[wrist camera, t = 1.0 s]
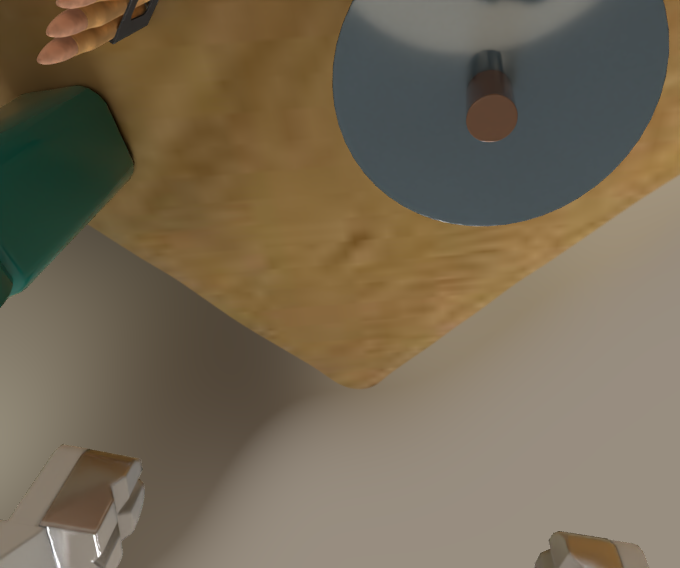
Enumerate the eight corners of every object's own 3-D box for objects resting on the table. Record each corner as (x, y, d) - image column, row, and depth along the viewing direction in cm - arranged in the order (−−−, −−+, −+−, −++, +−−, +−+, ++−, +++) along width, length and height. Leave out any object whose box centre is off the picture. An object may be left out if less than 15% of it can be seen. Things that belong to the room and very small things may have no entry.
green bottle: (62, 186, 49) (-144, 369, 33) (10, 94, 44) (-266, 254, 27) (157, 176, 47) (-12, 368, 30) (114, 77, 42) (-119, 242, 25)
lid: (700, -139, 23) (745, -133, 19) (631, 210, 33) (651, 256, 29) (310, -72, 26) (286, -57, 23) (357, 221, 37) (346, 263, 33)
